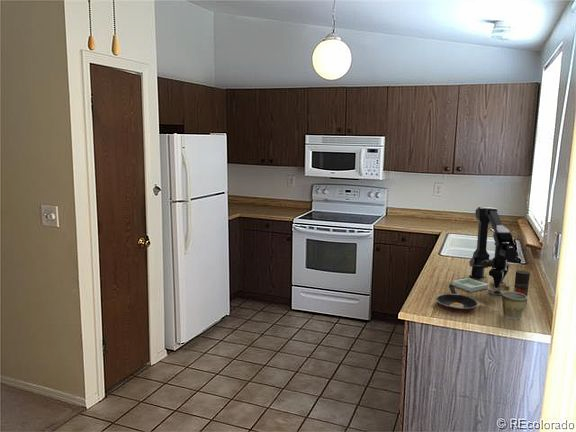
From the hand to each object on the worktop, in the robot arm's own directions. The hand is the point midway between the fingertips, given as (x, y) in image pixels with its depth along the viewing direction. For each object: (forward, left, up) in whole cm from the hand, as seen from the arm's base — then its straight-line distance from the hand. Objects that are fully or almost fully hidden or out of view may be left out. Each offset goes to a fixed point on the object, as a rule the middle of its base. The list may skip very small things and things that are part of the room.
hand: (497, 285), depth 239 cm
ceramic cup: (+20, +24, -4) cm, 31 cm away
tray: (+6, -12, -4) cm, 14 cm away
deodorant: (+2, +14, -4) cm, 15 cm away
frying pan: (+30, -1, -4) cm, 30 cm away
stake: (0, 0, -4) cm, 4 cm away
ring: (0, 0, -2) cm, 2 cm away
